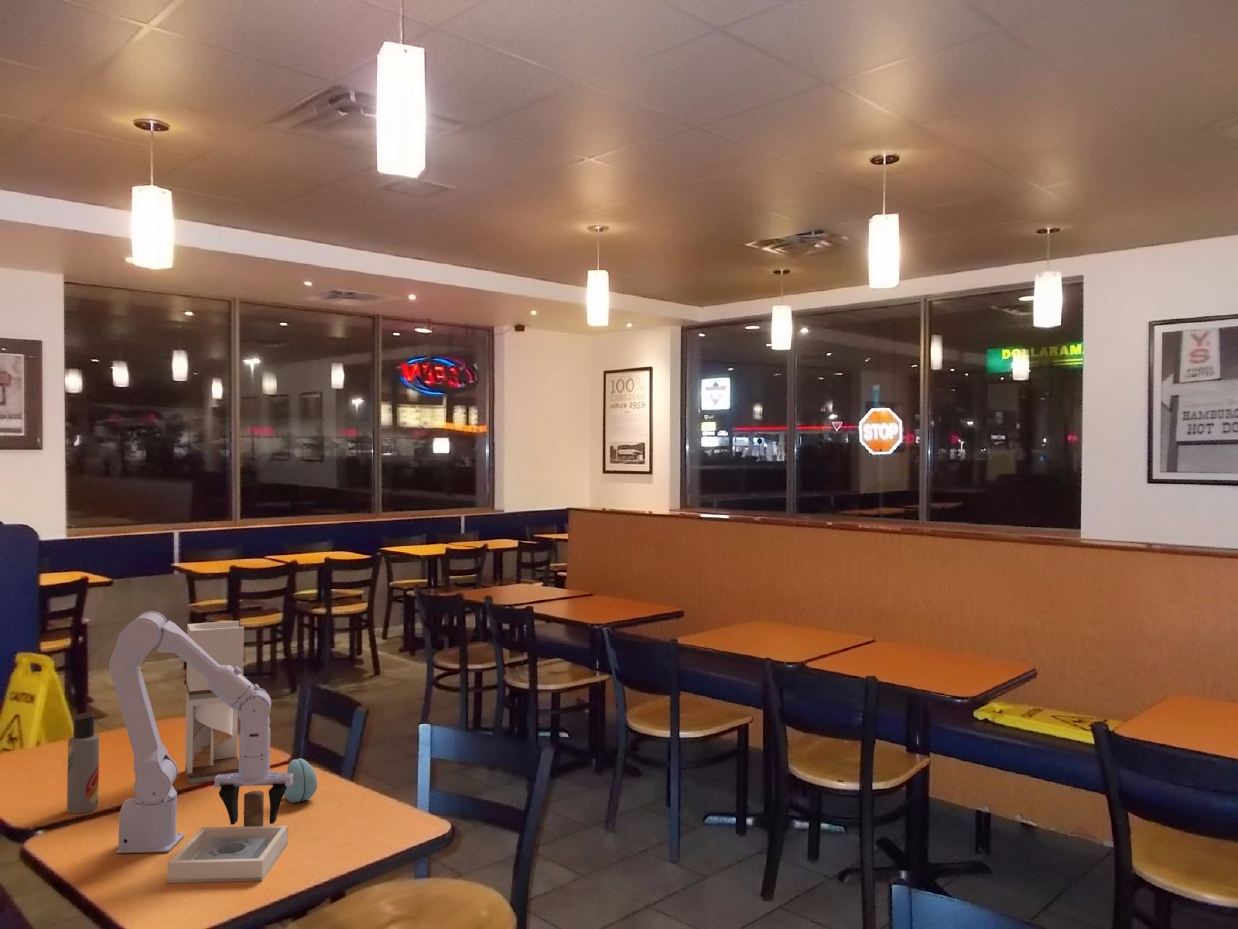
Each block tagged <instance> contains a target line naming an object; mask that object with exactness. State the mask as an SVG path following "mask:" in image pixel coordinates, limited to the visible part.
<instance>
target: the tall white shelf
mask: <svg viewBox="0 0 1238 929" xmlns="http://www.w3.org/2000/svg"><path fill="white" fill-rule="evenodd" d="M186 626H187V627H186V628H187V630H186V634H187V635H188V636H189V637H190V638H191V639H192V640H193V641H194V642H195V643H197V644H198V645H199V646H200V647H201V648H202V649H203V650H204V651H205V652H206V653H207V654H208V655H209V656H210V657H212V658H213V659H214V660H215V661H216V662H217V663H218V664H219V665H231V666H232V667H233V668H235V667H236V666H237V667H239V668H240V669H241V672H240V674H241V675H243V676H244V657H245V656H244V655H245V654H244V648H245V647H244V646H245V645H244V644H245V627H244V626H240V621H239V620H231V621H217V622H216V621H215V622H213V621H212V622H202V623H201V622H200V623H187V625H186ZM207 684H208V680H207V678H206V677H205V676H204V675H202V674H201V673H200V672H198V671H197V670H196V669H195V668H193V667H192V666H191V665H189V664H188V663H187V662H186V688H185V689H186V690H185V691H186V692H185V700H186V701H185V702H186V703H185V757H184V758H185V759H184V761H185V762H184V763H185V766H184V767H185V768H184V769H185V770H184V771H186V772H185V776H186V781H187V780H188V781H187V784H188V785H192V784H200V783H206V782H215V777H216V776H217V775H223V774H233V773H239V756H238V736H239V733H238V732H239V731H238V726H239V723H238V722H239V717H238V711H239V710H236V709H233V708H231V707H230V706H229V705H228V704H226V703H225V702H224V701H223V700H222V699H220V698H219V697H218V696H217V695H216V694H214V693H213V692H212V691H211V690H210V689H208V686H207ZM199 782H200V783H199Z"/></svg>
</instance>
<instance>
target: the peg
mask: <svg viewBox="0 0 1238 929" xmlns="http://www.w3.org/2000/svg"><path fill="white" fill-rule="evenodd" d="M264 796H265V794H264V791H261V790H252V791H249V792H246V793H244V794H243V827H248V826H264V811H265V810H264V808H265V807H264V802H265V801H264V800H265V797H264Z"/></svg>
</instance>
